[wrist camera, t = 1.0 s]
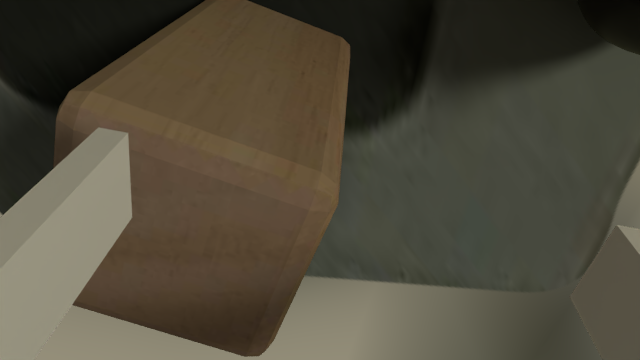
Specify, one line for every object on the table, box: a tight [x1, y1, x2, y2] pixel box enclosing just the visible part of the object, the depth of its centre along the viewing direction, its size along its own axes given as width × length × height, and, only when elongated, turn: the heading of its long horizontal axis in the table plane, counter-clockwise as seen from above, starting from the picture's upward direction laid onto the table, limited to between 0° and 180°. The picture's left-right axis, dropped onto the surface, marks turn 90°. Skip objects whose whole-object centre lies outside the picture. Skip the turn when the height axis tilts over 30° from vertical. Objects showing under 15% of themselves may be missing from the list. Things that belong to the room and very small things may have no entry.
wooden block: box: [53, 0, 350, 356], centre depth 26 cm, size 10×10×20 cm
